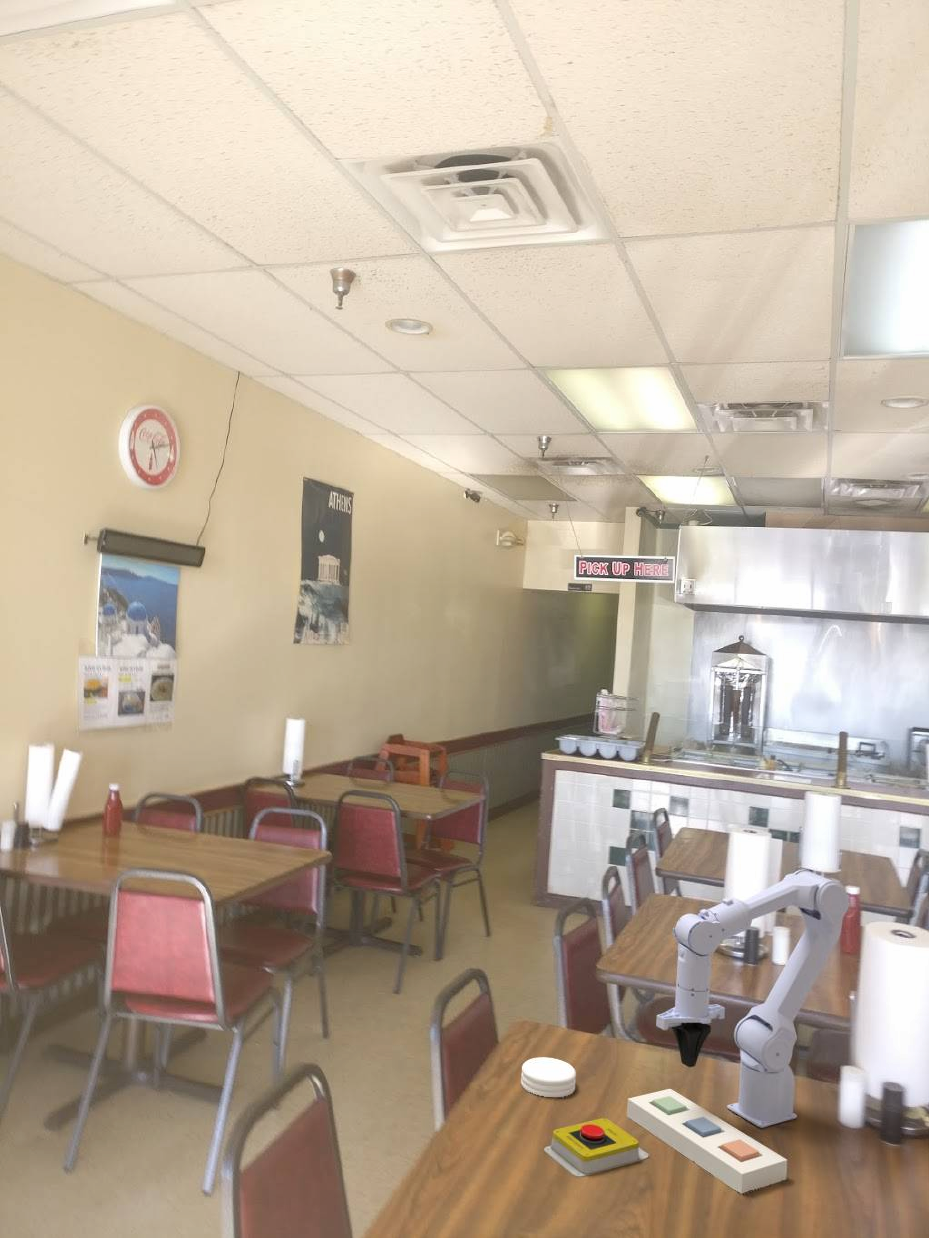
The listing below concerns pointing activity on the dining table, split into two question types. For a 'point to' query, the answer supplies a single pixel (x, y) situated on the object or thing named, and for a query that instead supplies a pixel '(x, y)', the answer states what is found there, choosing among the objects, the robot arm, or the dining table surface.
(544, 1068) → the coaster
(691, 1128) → the slate-blue button
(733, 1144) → the terracotta button
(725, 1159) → the button panel
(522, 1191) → the dining table surface
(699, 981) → the robot arm
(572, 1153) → the emergency button
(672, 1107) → the sage-green button
